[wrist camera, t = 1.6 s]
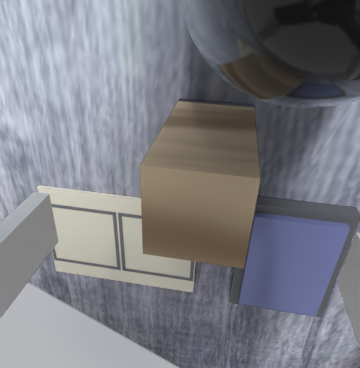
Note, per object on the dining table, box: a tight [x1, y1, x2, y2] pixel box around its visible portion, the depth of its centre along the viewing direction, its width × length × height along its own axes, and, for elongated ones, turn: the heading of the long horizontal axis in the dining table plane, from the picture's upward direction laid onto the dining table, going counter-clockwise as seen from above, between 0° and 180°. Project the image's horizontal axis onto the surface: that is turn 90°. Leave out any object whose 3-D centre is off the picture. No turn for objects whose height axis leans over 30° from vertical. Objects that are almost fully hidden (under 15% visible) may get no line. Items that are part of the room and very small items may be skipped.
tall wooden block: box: [140, 99, 261, 269], centre depth 19 cm, size 5×5×10 cm
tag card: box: [37, 185, 196, 293], centre depth 30 cm, size 10×14×1 cm
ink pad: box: [230, 196, 360, 317], centre depth 27 cm, size 11×8×2 cm
